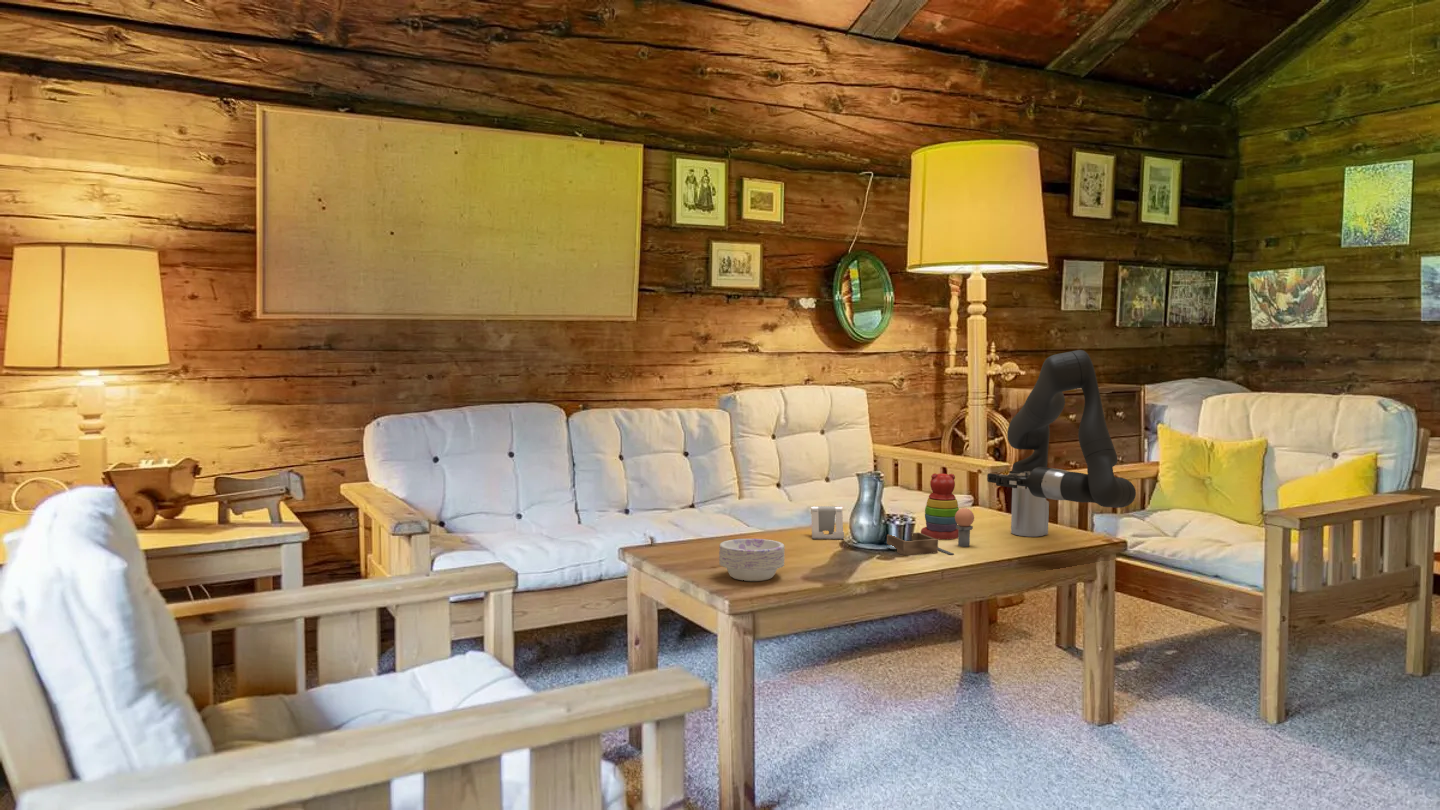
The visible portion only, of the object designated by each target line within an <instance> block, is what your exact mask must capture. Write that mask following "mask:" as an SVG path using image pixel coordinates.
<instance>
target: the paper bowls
mask: <svg viewBox="0 0 1440 810" xmlns="http://www.w3.org/2000/svg"><path fill="white" fill-rule="evenodd" d="M785 550H786V548H785V544H784V543H783V542H780V541H778V540H772V539H764V538H737V539H736V538H735V539H730V540H724V541H722V542H720V543H719V552H718V555H719V557H718V558H719V562H718V563H719V565H720V567H723V568H726V569H727V573H728V574H729V576H730V577H731V578H733V579H735V580H737V581H738V580H739V581H743V580H744V581H743V582H763V581H767V580H770V579H772V578H773V577H774V576H775V575H776V573H777V570H778V569H780V568H783V567H784V566H785Z"/></svg>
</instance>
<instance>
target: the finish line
mask: <svg viewBox="0 0 1440 810" xmlns="http://www.w3.org/2000/svg"><path fill="white" fill-rule="evenodd" d="M938 552H941V553H943V554H946V555H949V556H953V555H955V553H953V552H950V551H948V550H946V549H943V548H941V547H938Z"/></svg>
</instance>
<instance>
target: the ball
mask: <svg viewBox="0 0 1440 810" xmlns="http://www.w3.org/2000/svg"><path fill="white" fill-rule="evenodd" d="M955 521H956V523H957V525H960V526H962V527H968V526H970V525H971V526H972V525H973V523H974V521H975V515H974V513H973V511H972V510H971V509H969V508H965V507H963V508H962V507H961V508H959V510H958V511H957V512H956V514H955Z"/></svg>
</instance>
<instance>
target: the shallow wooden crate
mask: <svg viewBox="0 0 1440 810" xmlns="http://www.w3.org/2000/svg"><path fill="white" fill-rule="evenodd" d="M912 533H913V536H912V540H913V541H905V540H902V539H900V538H897V537H895V536H892V535H889V534H886V545H887V544H888V545H892V546H894V547H895V548H896V549H897V552H896V553H898V554H900V555H903V556H913V555H915V556H917V555H926V554H928V555H929V554H938V552H939V551H938V548H939V539H935V538H933V537H930V536H927V535H925V534H922V533H921V532H919V531H918V532H912Z"/></svg>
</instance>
